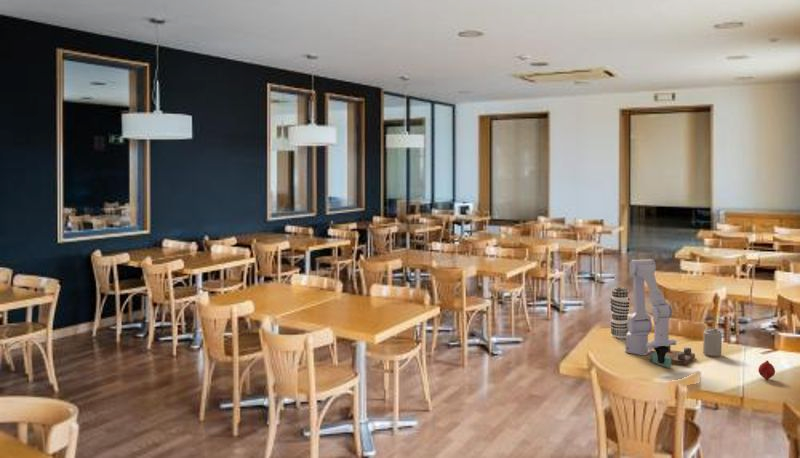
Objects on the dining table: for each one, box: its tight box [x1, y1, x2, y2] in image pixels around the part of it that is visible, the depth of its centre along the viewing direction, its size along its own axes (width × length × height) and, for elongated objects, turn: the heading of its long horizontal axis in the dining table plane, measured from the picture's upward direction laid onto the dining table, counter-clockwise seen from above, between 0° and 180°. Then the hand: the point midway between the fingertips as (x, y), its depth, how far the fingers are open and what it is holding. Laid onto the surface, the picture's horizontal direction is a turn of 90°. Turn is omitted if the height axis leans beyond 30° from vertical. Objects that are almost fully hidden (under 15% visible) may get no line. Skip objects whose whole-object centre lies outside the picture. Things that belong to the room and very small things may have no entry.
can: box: [702, 327, 723, 358], centre depth 301 cm, size 8×8×12 cm
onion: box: [757, 360, 776, 381], centre depth 267 cm, size 6×6×8 cm
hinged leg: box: [649, 350, 672, 369], centre depth 290 cm, size 11×2×4 cm, turn 21°
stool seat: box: [665, 345, 696, 367], centre depth 296 cm, size 14×14×4 cm
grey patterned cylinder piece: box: [609, 285, 631, 339], centre depth 336 cm, size 9×9×25 cm
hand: (660, 362), depth 287 cm, fingers closed
